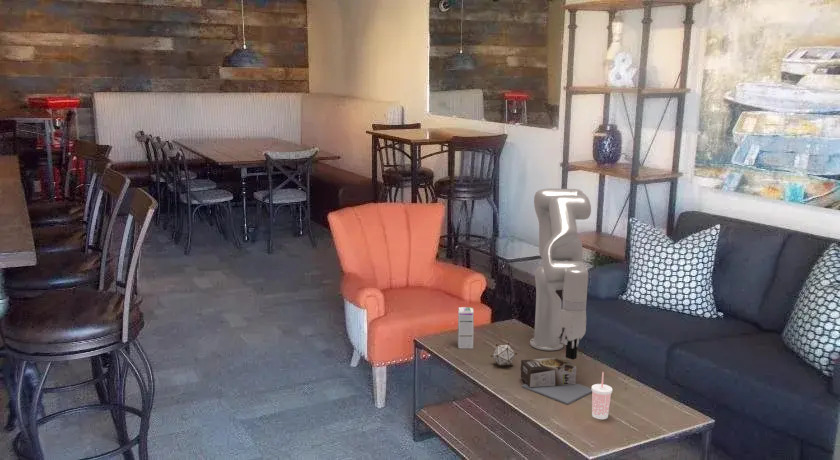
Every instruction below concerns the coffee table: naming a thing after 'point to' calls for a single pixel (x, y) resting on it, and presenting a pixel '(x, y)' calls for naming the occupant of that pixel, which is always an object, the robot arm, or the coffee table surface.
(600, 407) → the beverage cup
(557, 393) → the mat
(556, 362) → the coffee box
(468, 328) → the syrup box
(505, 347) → the game die
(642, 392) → the coffee table surface
